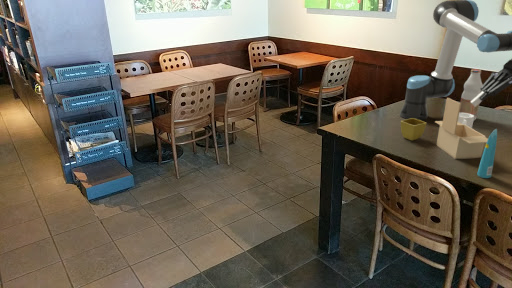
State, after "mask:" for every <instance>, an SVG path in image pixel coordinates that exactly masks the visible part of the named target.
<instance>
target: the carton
mask: <svg viewBox="0 0 512 288" xmlns="http://www.w3.org/2000/svg"><path fill="white" fill-rule="evenodd" d="M434 123H436V124H437V125H439V127H438V132H437V133H438V134H437V140H436V144H435V145H436V146H437V148H439V149H441V150H442V151H443V152H444V153H446V154H448V155H449V156H450V157H451V158H453V159H454V160H465V159H481V158H482V155H483V152H484V148H485V144H486V143H487V141H488V138H489V137H487V136H486V135H484V134H483V133H481V132H479V131H477V130H475V129H474V128H473V127H472V128H470V127H468V126H466V125H465V124H461V123H459V122H457V128H456V133H455V135H453V134H452V133H450V132H449V131H447V130H446V129H444V128H442V123H443V120H435V121H434Z"/></svg>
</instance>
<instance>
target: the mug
mask: <svg viewBox="0 0 512 288" xmlns="http://www.w3.org/2000/svg"><path fill="white" fill-rule="evenodd" d="M474 121H475V120H474V115H472V114H468V113H459V117H458V122H459V123H461V124H465V125H466V126H468V127H470V128H472V129H473V125H474V124H473V123H474Z"/></svg>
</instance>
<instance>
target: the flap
mask: <svg viewBox="0 0 512 288" xmlns="http://www.w3.org/2000/svg"><path fill="white" fill-rule="evenodd" d="M460 107H461V104H460V102H458V101H456V100H454V99H452V98H450V97H447V98H446V101H445V107H444V112H443V119H442V121H443V123H442V128H444V129H446V130H447V131H449V132H450V133H452V134H453V135H455V133H456V128H457V122H458V117H459V112H460Z"/></svg>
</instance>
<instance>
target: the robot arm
mask: <svg viewBox="0 0 512 288" xmlns="http://www.w3.org/2000/svg"><path fill="white" fill-rule="evenodd" d="M479 11H480V10H479V7H478V4H477V3H476V1H473V0H445V1H442V2H440V3H439V4H437V5H436V7H435V8H434V10H433V13H432V15H433V16H432V18H433V20H434V23H436V24H437V25H438V26H440V27H441V28H446V31H445V35H444V37H443V41H442V45H441V47H440V48H441V49H440V51H439V52H440V53H439V55H438V58H437V61H436V62H437V63H436V64H435V65H436V66H435V70H434V71H432V72H431V73H430V76H428V75H425V74H424V75H414V76H413V75H412V76H410V77H409V78H408V80H407V84H406V91H405V98H404V99H405V100H404V103H403V105H402V108H401V109H400V111H399V116H400V117H402V118H404V119H405V120H407V119H411V118H415V119H417V120H420V121H424V120H427V119H428V115H429V113H428V107H427V101H428V99H436V98H444V97H448V96H450V95H451V94H452V93H453V92H454V91H455V86H456V83H455V79H454V78H453V74H452V71H453V68H454V65H455V62H456V59H457V56H458V52H459V49H460V46H461V43H462V40H463V37H464V38H466V39H467V40H469V42H472V43H474V44H476V47H477V48H478V51H480V52H482V53H496V52H510V51H512V30H509V31H507V32H505V33H496V32H495V31H493V30H491V29H489V28H487V27H485V26H483V25H481V24H480V23H477V22H476V21H477V19H478V17H479ZM502 66H503V67H502V69H501V70H499V71H498V72H494V71H493V72H491V74H490V76H489V77H488V79H486V80H485V82H484V83H482V84H483V85H482V87H481V88H480V89H481V92H480V93H479V94H478V95H477V96H476V97H475V98H474V99H473V100H472V101H471V104H472V105H473V106H475V107H476V106H477V105H478V104H479V105H480V104H481V103H482V102H483V101H485V100H486V99H487V98H488V97H490V96H492V97H494V96H497V94H499V93H501V92H502V91H504V90H505V89H506V88H508V87H510V86H512V58H511V59H509V60H507V61H506V63H505V64H503V65H502Z"/></svg>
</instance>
